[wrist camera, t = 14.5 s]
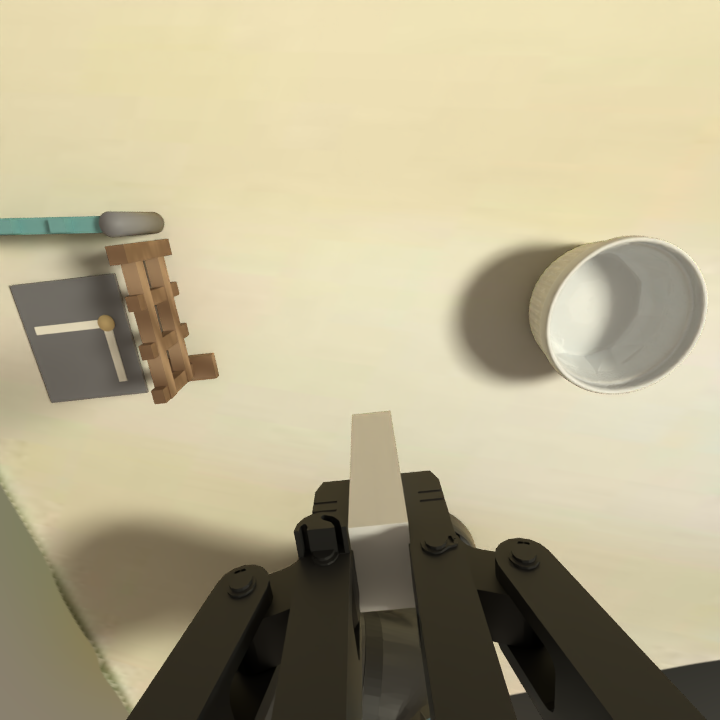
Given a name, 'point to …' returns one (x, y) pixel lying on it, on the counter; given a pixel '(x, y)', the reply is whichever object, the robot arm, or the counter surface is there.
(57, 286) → the card
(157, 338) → the fence
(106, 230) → the fence
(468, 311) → the counter surface
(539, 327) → the ramekin
